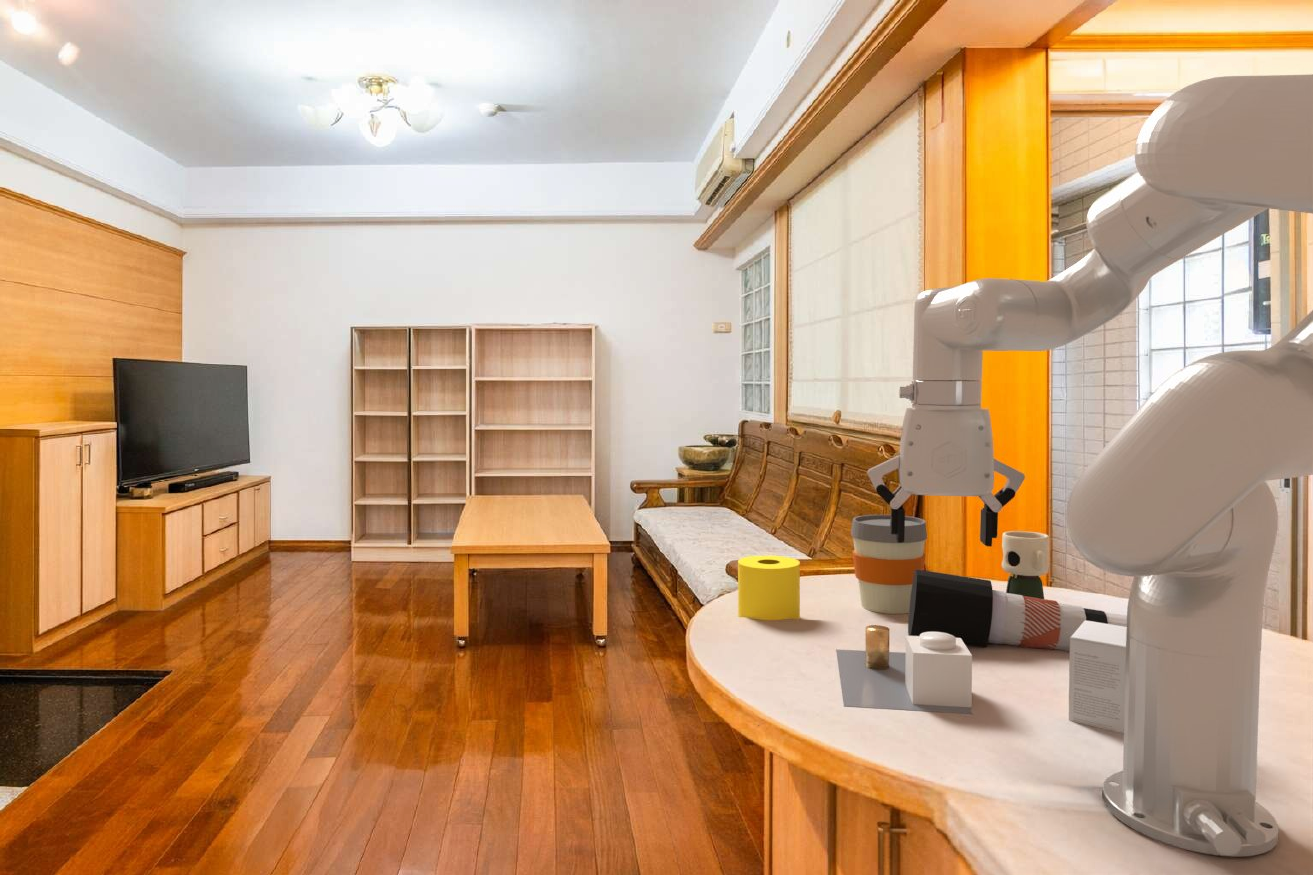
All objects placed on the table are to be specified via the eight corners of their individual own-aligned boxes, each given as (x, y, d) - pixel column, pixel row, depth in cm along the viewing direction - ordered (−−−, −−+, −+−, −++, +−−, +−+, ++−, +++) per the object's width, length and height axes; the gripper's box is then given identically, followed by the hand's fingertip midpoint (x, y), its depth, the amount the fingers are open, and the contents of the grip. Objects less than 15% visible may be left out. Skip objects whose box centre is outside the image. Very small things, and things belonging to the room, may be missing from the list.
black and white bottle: (1172, 699, 105) (1196, 645, 100) (907, 653, 114) (916, 601, 108) (1154, 645, 113) (1175, 592, 108) (908, 605, 122) (917, 555, 117)
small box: (1082, 707, 92) (1083, 618, 91) (1137, 719, 88) (1140, 627, 87) (1066, 730, 85) (1068, 636, 85) (1125, 745, 82) (1127, 646, 81)
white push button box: (971, 707, 89) (972, 646, 88) (912, 703, 90) (913, 644, 90) (960, 686, 95) (960, 629, 95) (905, 683, 96) (905, 627, 96)
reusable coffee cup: (844, 596, 142) (844, 514, 141) (914, 596, 141) (915, 514, 140) (859, 616, 129) (859, 526, 128) (936, 616, 129) (937, 526, 128)
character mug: (988, 603, 136) (989, 529, 136) (1029, 602, 137) (1030, 528, 136) (1019, 621, 126) (1020, 541, 125) (1063, 620, 126) (1064, 540, 125)
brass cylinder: (890, 670, 101) (890, 632, 100) (866, 669, 101) (866, 631, 101) (887, 662, 104) (888, 625, 103) (864, 661, 104) (864, 624, 104)
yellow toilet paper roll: (785, 631, 122) (785, 571, 121) (728, 621, 127) (727, 564, 127) (808, 615, 130) (808, 559, 130) (753, 607, 136) (753, 553, 135)
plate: (972, 724, 87) (973, 713, 87) (843, 716, 90) (843, 705, 90) (941, 662, 107) (941, 654, 107) (836, 657, 109) (836, 649, 109)
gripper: (871, 397, 89) (868, 546, 90) (1035, 397, 85) (1029, 552, 87) (867, 395, 96) (864, 533, 97) (1018, 396, 93) (1013, 538, 94)
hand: (942, 542), depth 92 cm, fingers open, 9 cm apart
